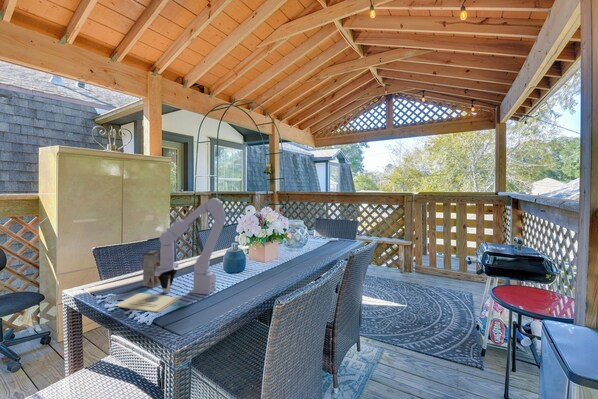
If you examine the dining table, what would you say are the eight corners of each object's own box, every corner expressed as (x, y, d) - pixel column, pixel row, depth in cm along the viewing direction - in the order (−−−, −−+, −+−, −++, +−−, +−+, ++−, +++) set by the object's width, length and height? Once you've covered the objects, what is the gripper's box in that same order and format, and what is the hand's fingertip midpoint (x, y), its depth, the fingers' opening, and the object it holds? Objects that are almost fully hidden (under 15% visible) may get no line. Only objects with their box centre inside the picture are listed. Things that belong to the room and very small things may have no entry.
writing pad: (180, 298, 125) (180, 297, 125) (158, 312, 111) (158, 311, 111) (139, 293, 129) (139, 292, 129) (114, 306, 115) (114, 305, 115)
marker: (171, 291, 133) (171, 274, 133) (167, 293, 130) (167, 276, 130) (165, 290, 133) (166, 273, 133) (161, 293, 131) (161, 275, 130)
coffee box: (155, 280, 147) (156, 249, 146) (166, 281, 146) (167, 250, 145) (142, 286, 138) (143, 253, 137) (154, 287, 137) (154, 254, 136)
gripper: (169, 253, 139) (168, 281, 139) (148, 260, 125) (147, 291, 125) (182, 254, 138) (181, 282, 138) (163, 262, 123) (162, 293, 124)
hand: (166, 287), depth 132 cm, fingers closed on marker, 3 cm apart
